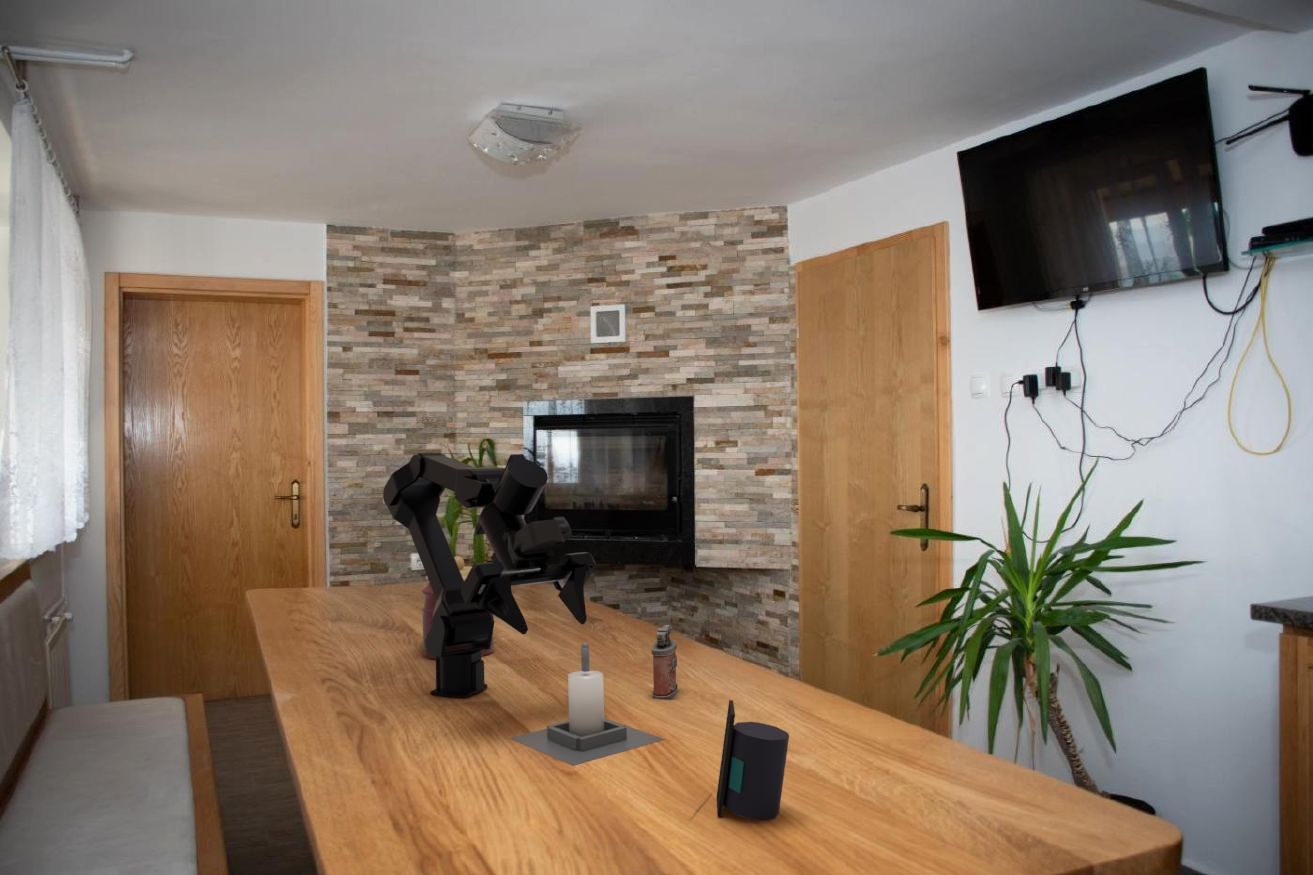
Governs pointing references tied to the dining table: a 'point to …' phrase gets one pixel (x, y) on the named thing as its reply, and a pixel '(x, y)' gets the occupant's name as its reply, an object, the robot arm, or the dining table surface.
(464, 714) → the dining table surface
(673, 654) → the lighter
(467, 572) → the canister
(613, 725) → the dock
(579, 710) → the plug
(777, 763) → the speaker
